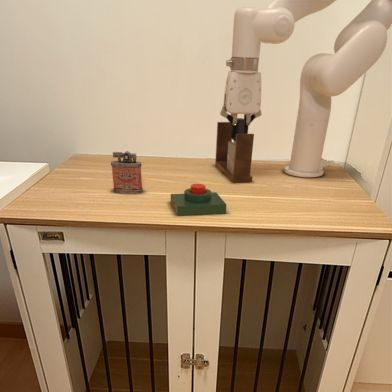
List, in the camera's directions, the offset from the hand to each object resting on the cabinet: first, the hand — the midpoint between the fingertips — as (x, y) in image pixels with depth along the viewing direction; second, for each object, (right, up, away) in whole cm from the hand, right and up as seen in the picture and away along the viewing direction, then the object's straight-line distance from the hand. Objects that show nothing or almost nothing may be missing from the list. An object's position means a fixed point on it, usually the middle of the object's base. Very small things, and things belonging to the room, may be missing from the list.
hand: (238, 139), depth 123 cm
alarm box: (-13, -28, -21) cm, 37 cm away
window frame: (-1, -7, +8) cm, 10 cm away
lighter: (-32, -20, -11) cm, 39 cm away
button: (-12, -25, -23) cm, 36 cm away
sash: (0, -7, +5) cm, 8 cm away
